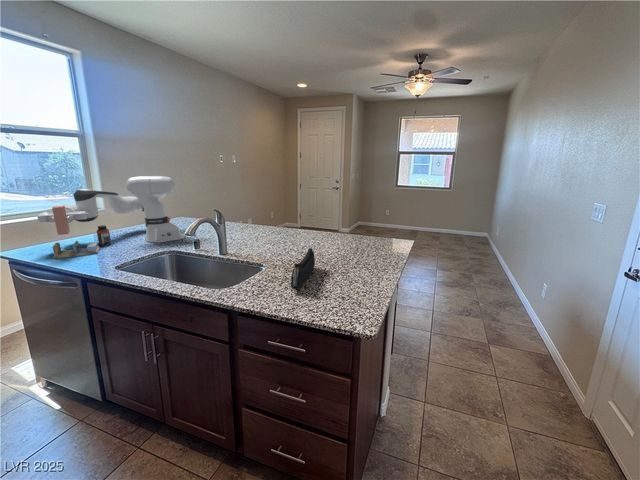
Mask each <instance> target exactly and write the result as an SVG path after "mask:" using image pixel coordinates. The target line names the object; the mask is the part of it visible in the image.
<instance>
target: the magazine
mask: <svg viewBox="0 0 640 480" xmlns="http://www.w3.org/2000/svg"><path fill="white" fill-rule="evenodd" d="M315 262H316V261H315V252H314V251H313V248H312V247H309V248H308V249H307V252H306V254H305V255H304V257H303V258H302V260H300V261H299V262H297V263H294V267H293V269H292V271H291V276H290V277H291V279H290V281H291V282H290V287H291V289H293V290H295V291H299V289H300V288H301V287H302V286H304V284H305V283H306V282H307V281H308V279H309V278H310V275H312V271H313V269H314V267H315V266H316V265H315V264H316V263H315Z"/></svg>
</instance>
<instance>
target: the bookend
mask: <svg viewBox="0 0 640 480" xmlns="http://www.w3.org/2000/svg"><path fill="white" fill-rule="evenodd" d="M72 245H73V249H74V250H75V254H79V253H87V252H88V249H87V247H85V248H84V247H83V248H81V247H80V242H79V240H76V241H74V243H73V244H72Z"/></svg>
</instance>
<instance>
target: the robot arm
mask: <svg viewBox="0 0 640 480" xmlns="http://www.w3.org/2000/svg"><path fill="white" fill-rule="evenodd" d="M125 185H126V190H127V191H128V192H129V193H130V194H131V195H134V196H130V195H128V196H121V195H119V193H117V192H113V191H103V190H92V189H88V188H80V189H77V190H75V192H74V193H73V198H74V201H75V204H73V203H67V204H66V203H65V204H64V205H65V209H66V214H67V217H65V218H66V220H68V224H69V223H72V222H74V221H77V222H78V223H87V222H88V223H89V222H92V221H95V220H96V219H98V217H99V209H98V206H97V198H101V199H102V198H104V199H105V200H106V202H107V203H108V206H109V207H110V209H111V210H112V211H113V212H114V213H115V214H118V215H125V214H130V213H134V212H136V211H138V210H141V212H144V216H145V217H144V225H145V227H146V229H145V230H146V234H145V241H146V242H148V243H159V244H160V243H164V242H173V241H178V240H184V239H185V238H186V236H185V233H182V232H181V229H180V227H179V226H177V225H176V224H174V223H173V222H171V218H170V217H169V216H166V211H165V205H164V203H163V202H162V201H160V200H163V199H164V198H166V197H167V195H168V194H172V193H173V192H174V191H175V189H176V184H175V181H174V179H172V177H169V176H163V175H151V176H150V175H147V176H146V175H143V176H142V175H141V176H140V175H138V176H132V177H129V178H128V179H127V181H126V184H125ZM37 221H38V222H39V223H55V219H54V215H53V210H52V208H51V209H45V210H43V212H41V213H39V214H38V215H37Z"/></svg>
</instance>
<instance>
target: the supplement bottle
mask: <svg viewBox="0 0 640 480" xmlns="http://www.w3.org/2000/svg"><path fill="white" fill-rule="evenodd" d="M96 236H97V242H98V246H102V247H103V246H110V245H111V244H112V241H111V236H110V229H109V228H107V225H104V224H101V225H98V226H97V230H96Z"/></svg>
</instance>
